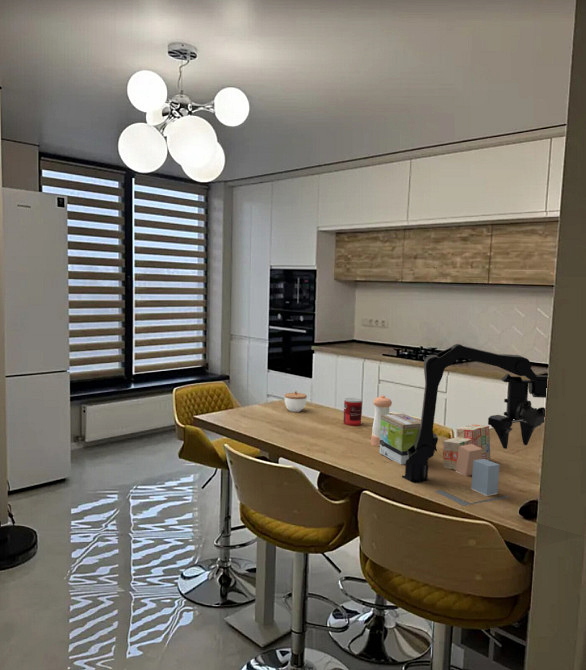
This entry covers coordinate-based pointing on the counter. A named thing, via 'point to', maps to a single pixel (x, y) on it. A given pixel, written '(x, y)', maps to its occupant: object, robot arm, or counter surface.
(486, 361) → the robot arm
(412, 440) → the tea box
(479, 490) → the slate blue block
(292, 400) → the lidded jar
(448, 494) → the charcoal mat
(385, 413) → the salt shaker
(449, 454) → the stack of blocks
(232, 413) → the counter surface
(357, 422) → the canned food
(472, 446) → the dusty pink block
